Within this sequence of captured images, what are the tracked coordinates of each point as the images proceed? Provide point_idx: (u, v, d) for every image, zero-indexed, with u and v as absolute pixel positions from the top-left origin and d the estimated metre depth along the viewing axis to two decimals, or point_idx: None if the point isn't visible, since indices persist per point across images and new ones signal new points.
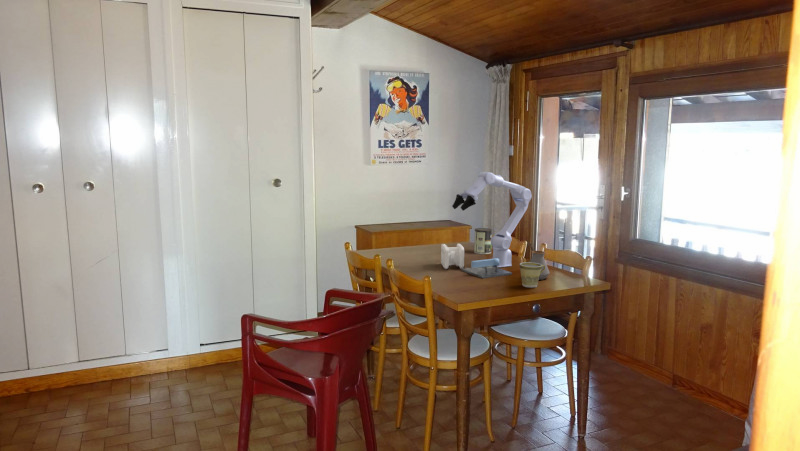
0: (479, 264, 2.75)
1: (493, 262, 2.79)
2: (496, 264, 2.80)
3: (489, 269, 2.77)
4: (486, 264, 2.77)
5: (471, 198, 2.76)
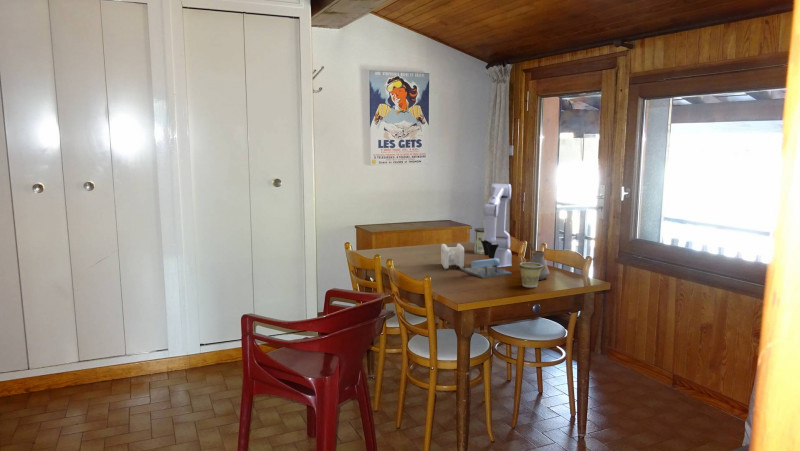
0: (479, 264, 2.75)
1: (493, 262, 2.79)
2: (496, 264, 2.80)
3: (489, 269, 2.77)
4: (486, 264, 2.77)
5: (490, 245, 2.64)
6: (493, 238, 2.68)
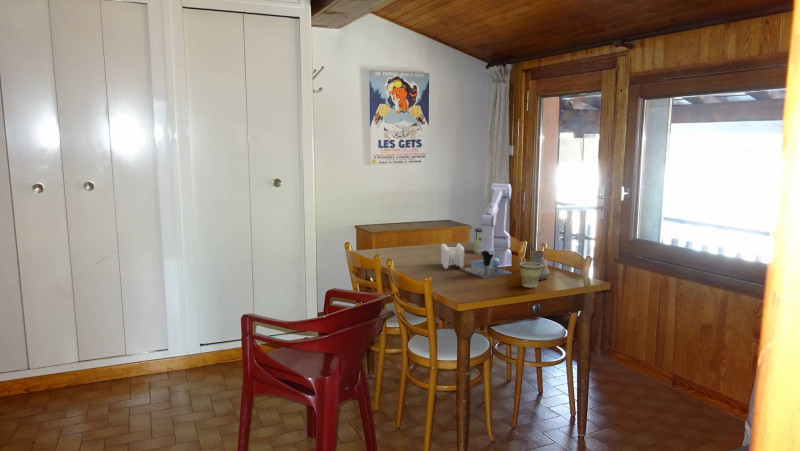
0: (479, 264, 2.75)
1: (493, 262, 2.79)
2: (496, 264, 2.80)
3: (489, 269, 2.77)
4: None
5: (485, 254, 2.72)
6: (491, 248, 2.72)
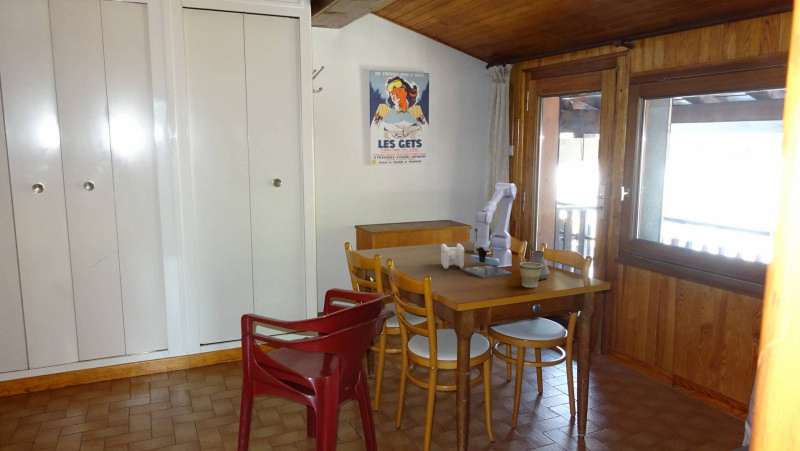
0: (475, 259, 2.87)
1: (490, 261, 2.82)
2: (492, 264, 2.80)
3: (489, 269, 2.77)
4: None
5: (480, 250, 2.80)
6: (486, 244, 2.79)
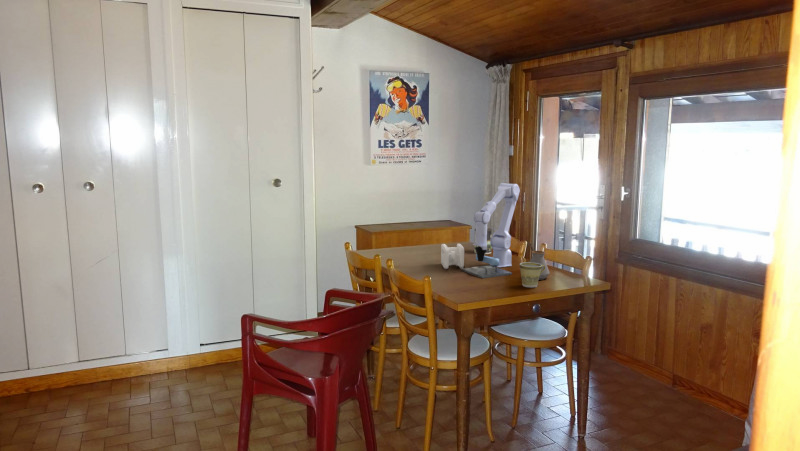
0: None
1: (491, 261, 2.82)
2: (492, 263, 2.81)
3: (489, 269, 2.77)
4: (485, 260, 2.86)
5: (479, 249, 2.83)
6: (484, 243, 2.83)
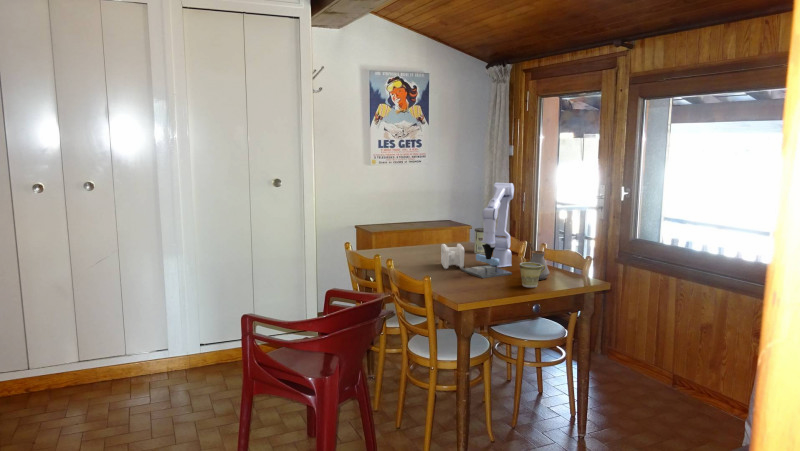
0: (479, 258, 2.90)
1: (491, 261, 2.82)
2: (492, 263, 2.81)
3: (489, 269, 2.77)
4: (485, 260, 2.86)
5: (487, 247, 2.75)
6: (492, 241, 2.75)
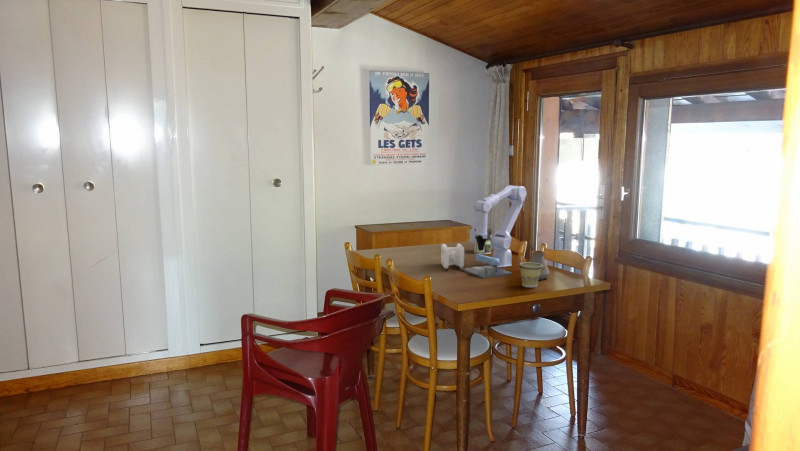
0: (479, 258, 2.90)
1: (491, 261, 2.82)
2: (492, 263, 2.81)
3: (489, 269, 2.77)
4: (485, 260, 2.86)
5: (480, 238, 2.85)
6: (484, 232, 2.84)
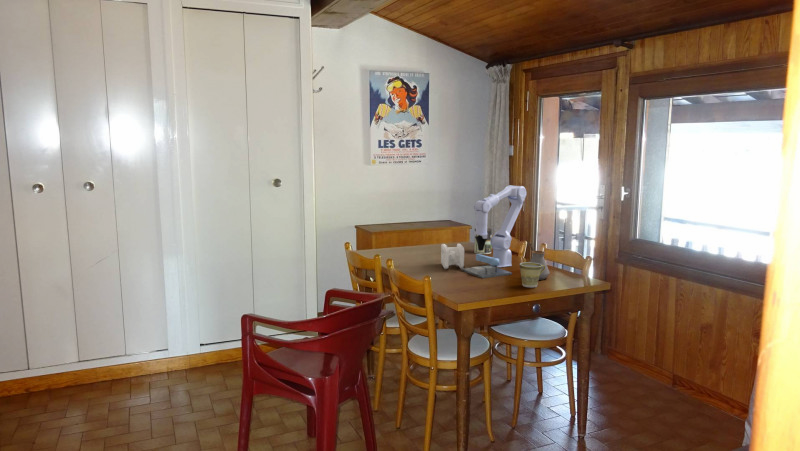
0: (479, 258, 2.90)
1: (491, 261, 2.82)
2: (492, 263, 2.81)
3: (489, 269, 2.77)
4: (485, 260, 2.86)
5: (480, 238, 2.85)
6: (484, 232, 2.84)
